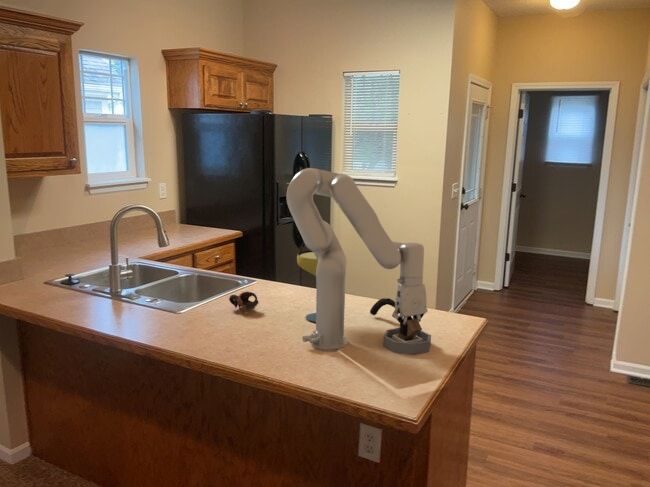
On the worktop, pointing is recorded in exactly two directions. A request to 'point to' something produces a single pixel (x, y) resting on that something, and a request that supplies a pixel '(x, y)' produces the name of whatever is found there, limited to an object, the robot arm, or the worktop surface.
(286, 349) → the worktop surface
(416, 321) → the brown rectangular block
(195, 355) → the worktop surface
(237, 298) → the dark brown looped figurine
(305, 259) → the cocktail glass
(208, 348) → the worktop surface
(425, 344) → the gray octagonal container
